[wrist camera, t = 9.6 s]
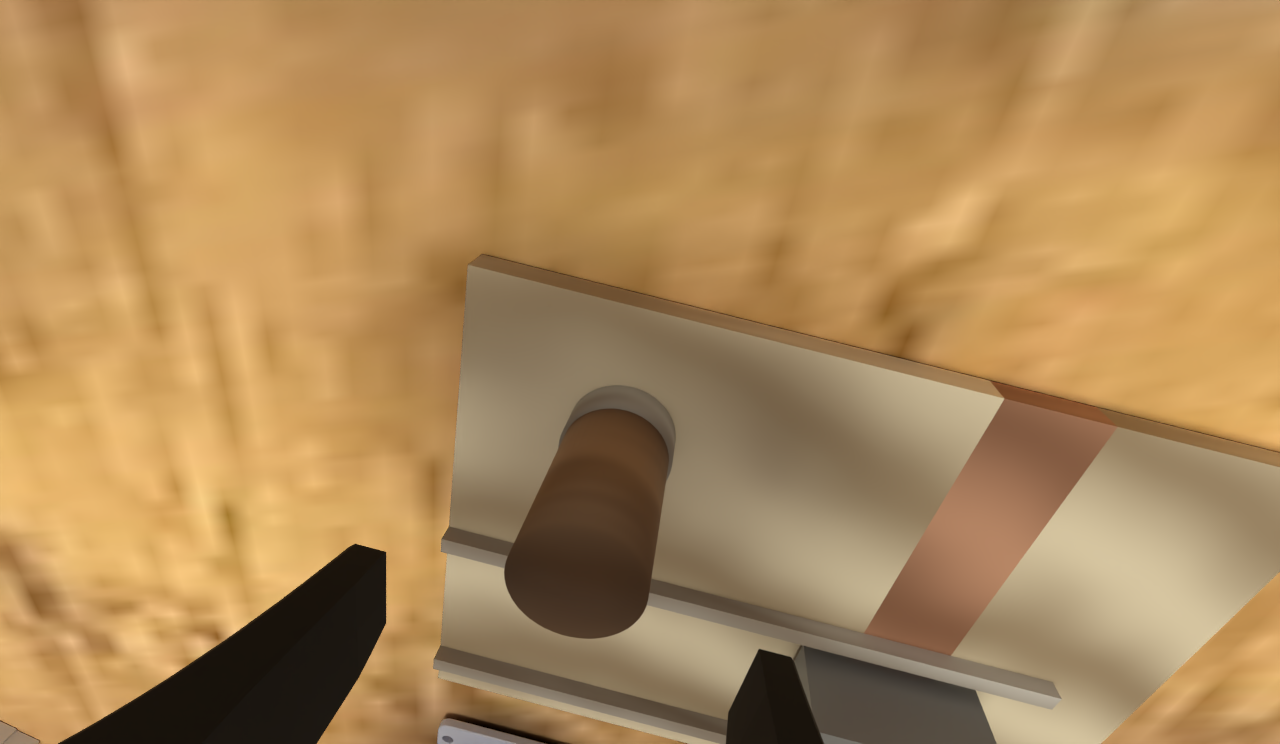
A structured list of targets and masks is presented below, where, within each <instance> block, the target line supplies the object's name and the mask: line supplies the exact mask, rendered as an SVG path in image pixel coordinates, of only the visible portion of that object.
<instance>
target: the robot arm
mask: <svg viewBox="0 0 1280 744" xmlns="http://www.w3.org/2000/svg"><path fill="white" fill-rule="evenodd" d="M385 624H386V552H384V551H380V550H377V549H373V548H369V547H365V546H361V545H357V544H354V545H352V546H350V547H349V548H347V549H346V550H345V551H343V552H342V553H341V554H340V555H338V556H337V557H336V558H335V559H333V560H332V561H331V562H329V563H328V564H327V565H326V566H324V567H323V568H322V569H321V570H319V571H318V572H317V573H315V574H314V575H313V576H312V577H310V578H309V579H308V580H306V581H305V582H304V583H303V584H301V585H300V586H299V587H297V588H296V589H295V590H293V591H292V592H291V593H289V594H288V595H287V596H285V597H284V598H283V599H281V600H280V601H279V602H277V603H276V604H275V605H273V606H272V607H271V608H269V609H268V610H266V611H265V612H264V613H262V614H261V615H260V616H258V617H257V618H255V619H254V620H253V621H251V622H250V623H249V624H247V625H246V626H244V627H243V628H242V629H240V630H239V631H237V632H236V633H235V634H233V635H232V636H230V637H229V638H228V639H226V640H225V641H223V642H222V643H220V644H219V645H217V646H216V647H214V648H213V649H211V650H210V651H208V652H207V653H205V654H204V655H202V656H201V657H199V658H198V659H196V660H195V661H193V662H192V663H190V664H189V665H187V666H186V667H185V668H183V669H182V670H180V671H179V672H177V673H176V674H174V675H172V676H171V677H169V678H168V679H166V680H165V681H163V682H162V683H160V684H158V685H157V686H155V687H154V688H152V689H150V690H149V691H147V692H146V693H144V694H142V695H141V696H139V697H138V698H136V699H134V700H133V701H131V702H129V703H128V704H126V705H124V706H123V707H121V708H119V709H118V710H116V711H114V712H113V713H111V714H109V715H108V716H106V717H104V718H103V719H101V720H99V721H97V722H96V723H94V724H92V725H91V726H89V727H87V728H85V729H83V730H82V731H80V732H78V733H76V734H75V735H73V736H71V737H69V738H67V739H66V740H64V741H62V742H60V743H58V744H317V742H318V740H319V739H320V737H321V736H322V734H323V733H324V731H325V730H326V728H327V726H328V725H329V723H330V722H331V720H332V719H333V717H334V716H335V714H336V712H337V711H338V709H339V708H340V706H341V705H342V703H343V701H344V700H345V698H346V697H347V695H348V694H349V692H350V690H351V689H352V687H353V686H354V684H355V682H356V681H357V679H358V678H359V676H360V674H361V672H362V670H363V668H364V666H365V664H366V662H367V660H368V658H369V656H370V655H371V653H372V651H373V649H374V647H375V645H376V642H377V640H378V638H379V636H380V634H381V632H382V630H383V628H384V626H385ZM437 744H546V743H542V742H538V741H535V740H531V739H527V738H523V737H519V736H516V735H512V734H508V733H504V732H500V731H497V730H493V729H489V728H485V727H481V726H478V725H474V724H470V723H466V722H463V721H459V720H455V719H450V718H448V719H444V720H442V722H441V724H440V726H439V729H438V738H437ZM726 744H824V742H823V739H822V737H821V734H820V731H819V729H818V726H817V724H816V721H815V718H814V716H813V713H812V710H811V708H810V705H809V702H808V700H807V697H806V694H805V691H804V688H803V686H802V683H801V680H800V677H799V674H798V671H797V668H796V665H795V662H794V661H793V659H792V658H791V657H789V656H786V655H782V654H778V653H774V652H770V651H766V650H762V649H758V652H757V654H756V656H755V658H754V660H753V662H752V664H751V666H750V668H749V670H748V672H747V674H746V676H745V679H744V681H743V683H742V685H741V687H740V689H739V691H738V693H737V695H736V697H735V699H734V701H733V704H732V706H731V708H730V710H729V712H728V722H727V735H726Z"/></svg>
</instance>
